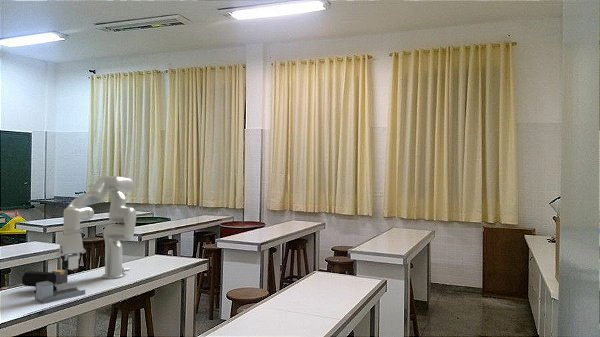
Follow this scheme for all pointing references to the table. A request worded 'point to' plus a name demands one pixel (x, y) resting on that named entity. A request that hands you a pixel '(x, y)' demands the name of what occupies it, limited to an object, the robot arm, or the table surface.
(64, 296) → the gray flat slab
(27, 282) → the security camera
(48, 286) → the mounted module
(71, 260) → the block
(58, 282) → the relay block
